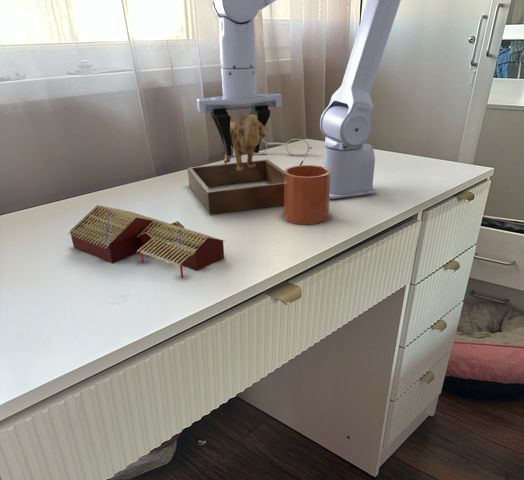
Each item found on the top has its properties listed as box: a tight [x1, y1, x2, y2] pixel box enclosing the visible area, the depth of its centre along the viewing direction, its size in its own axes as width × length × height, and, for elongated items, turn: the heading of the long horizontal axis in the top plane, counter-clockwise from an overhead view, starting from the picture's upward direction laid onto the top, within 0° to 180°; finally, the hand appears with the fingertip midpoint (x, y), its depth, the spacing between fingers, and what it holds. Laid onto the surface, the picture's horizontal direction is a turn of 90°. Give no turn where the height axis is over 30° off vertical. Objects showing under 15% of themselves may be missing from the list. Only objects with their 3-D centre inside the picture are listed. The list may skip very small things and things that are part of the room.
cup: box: [283, 164, 331, 226], centre depth 88 cm, size 8×8×8 cm
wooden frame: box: [187, 159, 284, 215], centre depth 101 cm, size 18×19×4 cm
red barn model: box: [67, 204, 226, 279], centre depth 77 cm, size 22×13×5 cm, turn 51°
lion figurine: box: [221, 114, 269, 171], centre depth 90 cm, size 15×5×9 cm, turn 31°
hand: (242, 153), depth 92 cm, fingers closed on lion figurine, 4 cm apart
